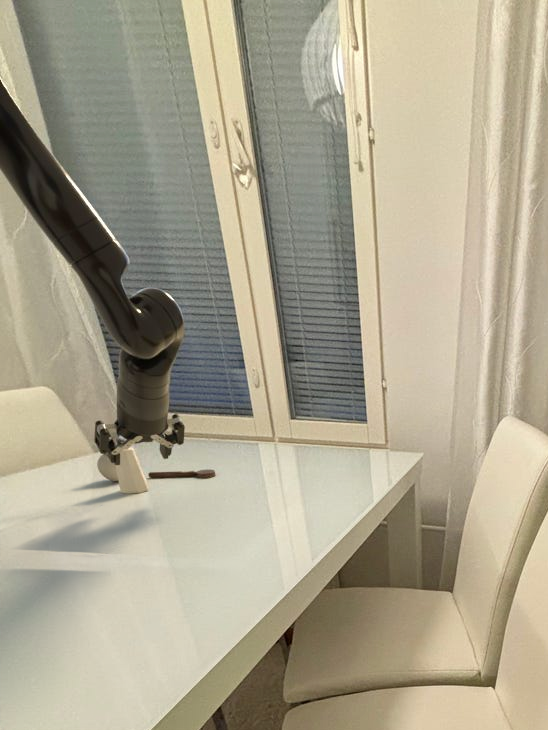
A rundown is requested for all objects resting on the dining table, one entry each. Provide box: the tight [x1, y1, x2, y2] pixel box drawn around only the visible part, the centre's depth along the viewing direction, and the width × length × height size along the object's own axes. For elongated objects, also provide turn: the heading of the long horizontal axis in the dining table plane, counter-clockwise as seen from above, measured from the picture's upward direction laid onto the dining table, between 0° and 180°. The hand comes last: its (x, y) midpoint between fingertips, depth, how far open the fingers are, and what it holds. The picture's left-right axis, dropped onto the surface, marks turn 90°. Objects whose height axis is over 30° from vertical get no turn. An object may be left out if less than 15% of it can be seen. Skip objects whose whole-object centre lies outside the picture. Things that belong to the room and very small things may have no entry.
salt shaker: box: [115, 437, 150, 495], centre depth 113 cm, size 5×5×11 cm
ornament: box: [96, 453, 119, 482], centre depth 120 cm, size 6×7×10 cm
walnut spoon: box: [147, 469, 217, 479], centre depth 126 cm, size 14×4×1 cm, turn 104°
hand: (139, 458), depth 105 cm, fingers open, 8 cm apart
